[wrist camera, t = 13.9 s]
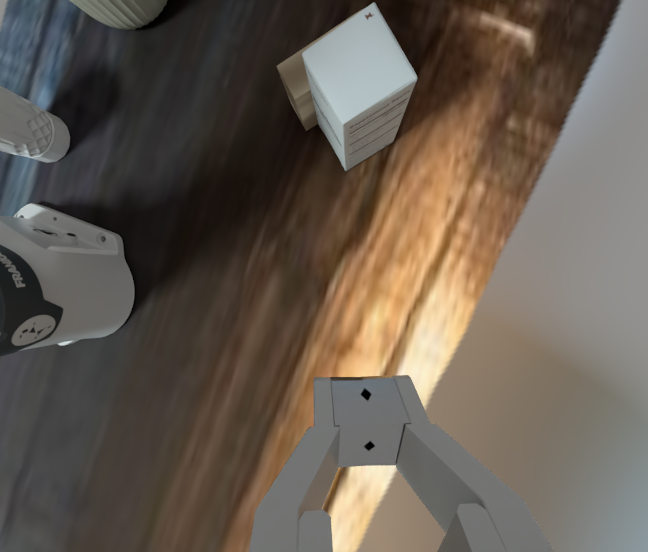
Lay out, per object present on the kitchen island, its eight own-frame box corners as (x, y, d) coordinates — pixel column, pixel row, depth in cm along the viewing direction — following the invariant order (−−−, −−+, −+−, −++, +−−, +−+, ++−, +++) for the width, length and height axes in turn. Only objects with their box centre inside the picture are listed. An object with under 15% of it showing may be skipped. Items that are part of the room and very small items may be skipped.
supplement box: (317, 125, 35) (298, 49, 22) (367, 92, 34) (376, -5, 22) (344, 174, 35) (341, 126, 22) (395, 143, 34) (421, 75, 22)
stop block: (373, 88, 34) (379, 44, 27) (306, 131, 35) (294, 99, 28) (358, 61, 34) (360, 9, 27) (291, 104, 35) (276, 66, 28)
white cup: (71, 108, 38) (-26, 55, 28) (77, 164, 39) (-16, 130, 29) (23, 115, 39) (-88, 65, 29) (30, 169, 40) (-78, 139, 30)
